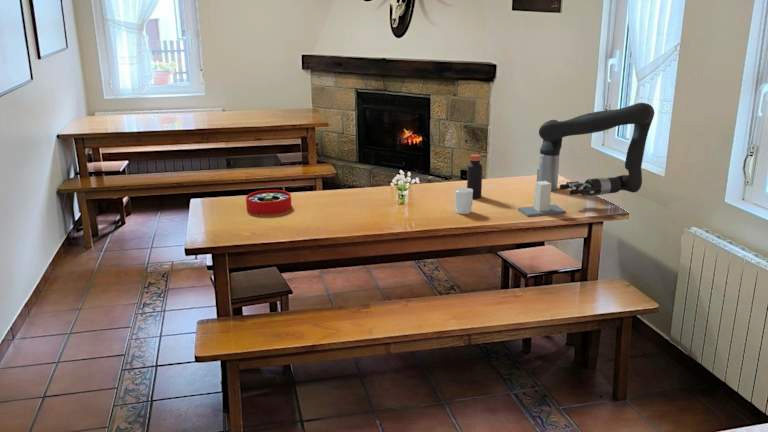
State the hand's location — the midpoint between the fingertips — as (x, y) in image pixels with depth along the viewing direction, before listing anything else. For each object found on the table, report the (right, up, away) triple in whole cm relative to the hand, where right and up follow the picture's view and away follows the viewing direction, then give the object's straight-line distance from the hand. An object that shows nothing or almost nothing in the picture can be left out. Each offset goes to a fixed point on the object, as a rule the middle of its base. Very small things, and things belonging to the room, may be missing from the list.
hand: (564, 189), depth 302 cm
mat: (-10, -10, 0) cm, 14 cm away
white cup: (-44, -10, +1) cm, 46 cm away
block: (-10, -9, 0) cm, 13 cm away
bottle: (-37, -3, +23) cm, 43 cm away
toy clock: (-131, -8, +10) cm, 132 cm away
